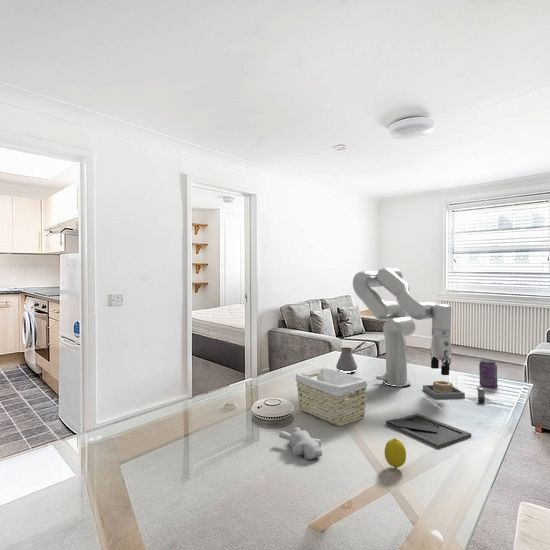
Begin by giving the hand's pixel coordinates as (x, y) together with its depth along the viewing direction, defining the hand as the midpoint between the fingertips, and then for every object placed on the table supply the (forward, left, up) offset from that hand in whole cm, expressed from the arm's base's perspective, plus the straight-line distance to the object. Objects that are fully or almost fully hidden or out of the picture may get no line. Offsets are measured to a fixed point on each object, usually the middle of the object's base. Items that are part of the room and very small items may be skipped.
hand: (439, 371), depth 162 cm
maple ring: (+1, -1, -9) cm, 9 cm away
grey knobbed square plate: (+12, -11, -10) cm, 19 cm away
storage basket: (-52, -21, -10) cm, 56 cm away
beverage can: (+27, +9, -10) cm, 30 cm away
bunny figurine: (-65, -49, -10) cm, 82 cm away
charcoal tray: (+1, -1, -10) cm, 10 cm away
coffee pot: (-28, +45, -10) cm, 54 cm away
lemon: (-41, -61, -10) cm, 74 cm away
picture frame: (-22, -38, -11) cm, 45 cm away
